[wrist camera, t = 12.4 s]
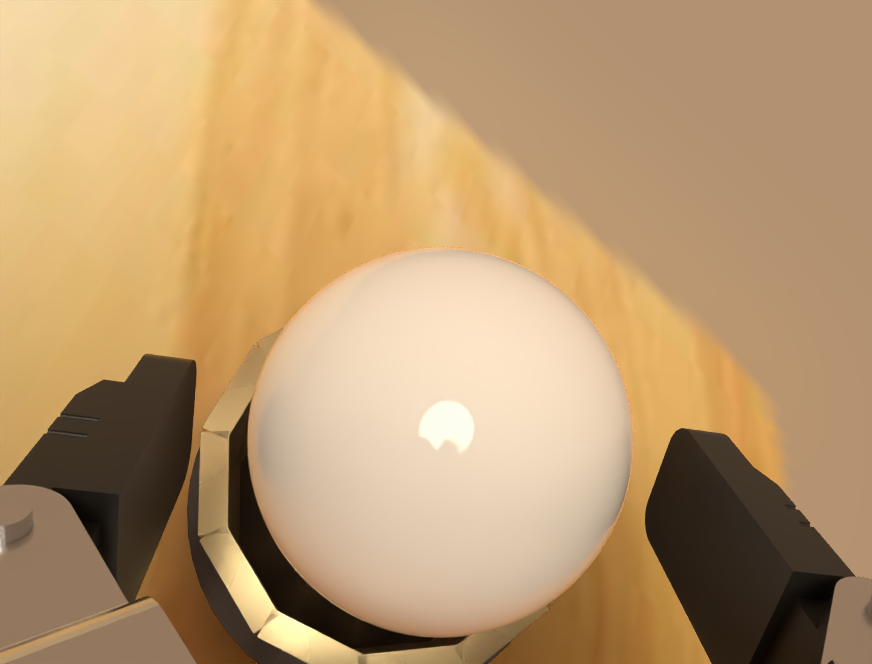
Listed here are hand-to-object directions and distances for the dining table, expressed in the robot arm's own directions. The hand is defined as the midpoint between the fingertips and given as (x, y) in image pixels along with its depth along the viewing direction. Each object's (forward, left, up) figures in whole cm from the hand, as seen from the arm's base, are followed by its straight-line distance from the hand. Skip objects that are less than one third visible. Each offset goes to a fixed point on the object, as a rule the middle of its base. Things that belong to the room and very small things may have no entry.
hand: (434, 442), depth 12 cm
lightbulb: (0, 0, -8) cm, 8 cm away
